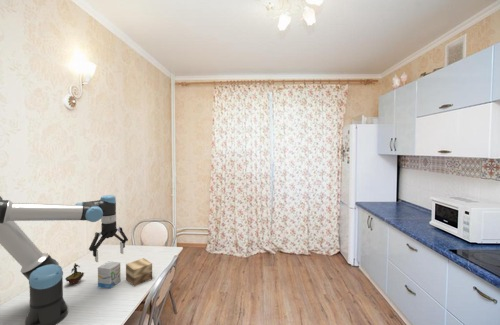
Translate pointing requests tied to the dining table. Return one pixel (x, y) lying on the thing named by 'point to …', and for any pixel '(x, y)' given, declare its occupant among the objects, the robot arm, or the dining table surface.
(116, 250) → the dining table surface
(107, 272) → the ink box
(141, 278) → the slab bottom
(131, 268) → the slab top
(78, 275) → the figurine
